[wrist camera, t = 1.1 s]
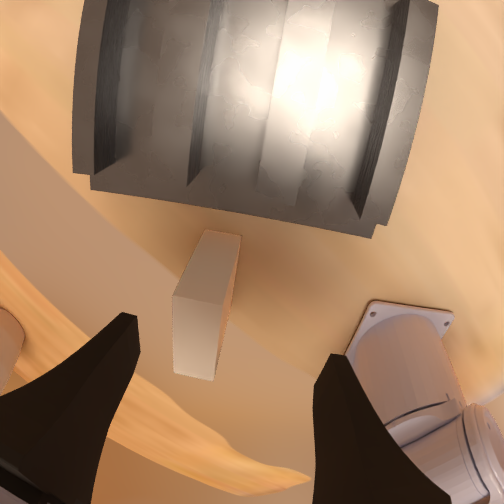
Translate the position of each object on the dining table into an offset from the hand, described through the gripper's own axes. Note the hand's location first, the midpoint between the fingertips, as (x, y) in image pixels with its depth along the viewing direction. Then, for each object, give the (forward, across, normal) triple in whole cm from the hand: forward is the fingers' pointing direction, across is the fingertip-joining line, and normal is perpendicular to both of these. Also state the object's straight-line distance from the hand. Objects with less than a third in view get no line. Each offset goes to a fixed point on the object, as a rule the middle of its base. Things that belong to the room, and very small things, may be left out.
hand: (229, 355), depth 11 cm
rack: (+10, +2, -9) cm, 14 cm away
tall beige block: (+10, +2, +4) cm, 11 cm away
